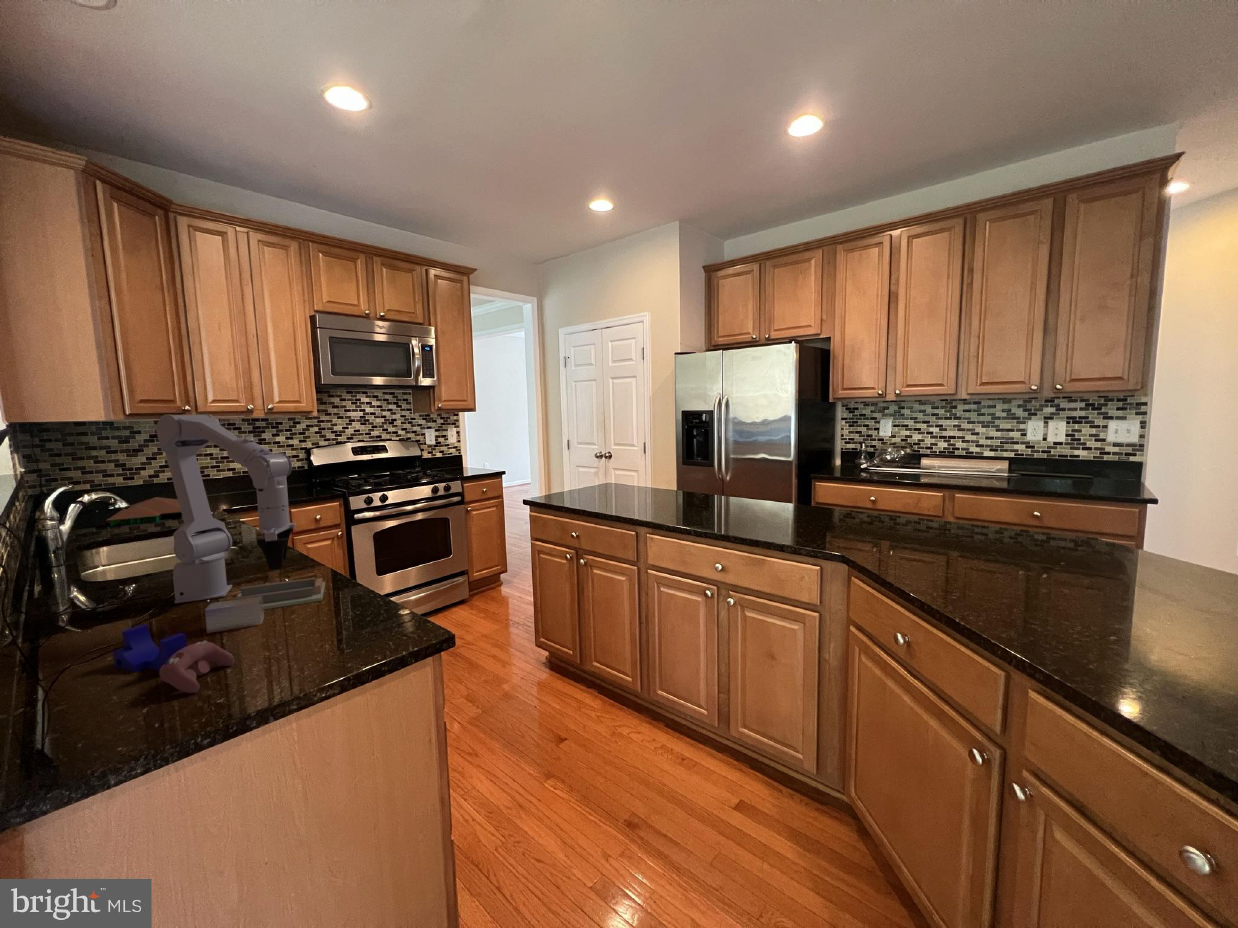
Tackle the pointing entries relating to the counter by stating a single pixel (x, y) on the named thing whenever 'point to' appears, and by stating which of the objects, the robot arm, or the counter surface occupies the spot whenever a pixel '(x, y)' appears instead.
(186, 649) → the video game controller
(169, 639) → the cable clip
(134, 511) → the house
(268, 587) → the drive tray
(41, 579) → the counter surface
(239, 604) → the block
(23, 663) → the counter surface
